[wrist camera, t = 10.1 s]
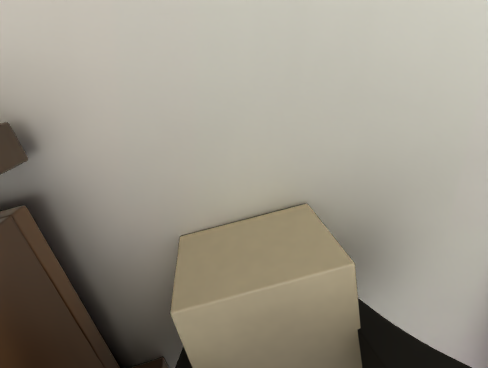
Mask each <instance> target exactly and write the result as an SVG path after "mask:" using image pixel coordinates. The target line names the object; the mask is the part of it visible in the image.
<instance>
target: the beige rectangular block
mask: <svg viewBox="0 0 488 368" xmlns="http://www.w3.org/2000/svg"><path fill="white" fill-rule="evenodd" d="M170 315H171V317H172V320H173V322H174V324H175V327H176V329H177V332H178V334H179V337H180V339H181V341H182V344H183V346H184V349H185V351H186V354H187V356H188V358H189V361H190V363H191V366H192V368H362V361H361V353H360V345H359V338H358V330H357V329H360V328H361V327H360V316H359V305H358V294H357V283H356V272H355V263H354V262H353V261H352V259H351V258H350V257H349V256H348V254H347V253H346V252H345V251H344V249H343V248H342V247H341V245H340V244H339V243H338V242H337V240H336V239H335V238H334V237H333V235H332V234H331V233H330V232H329V230H328V229H327V228H326V227H325V225H324V224H323V223H322V221H321V220H320V219H319V218H318V216H317V215H316V214H315V213H314V211H313V210H312V209H311V208H310V206H309V205H308V204H303V205H299V206H296V207H292V208H288V209H284V210H280V211H276V212H273V213H269V214H265V215H261V216H257V217H253V218H249V219H246V220H242V221H238V222H234V223H230V224H226V225H222V226H219V227H215V228H211V229H207V230H203V231H199V232H195V233H192V234H188V235H184V236H181V237H180V240H179V248H178V255H177V263H176V271H175V279H174V287H173V294H172V302H171V310H170Z"/></svg>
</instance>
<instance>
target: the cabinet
mask: <svg viewBox="0 0 488 368" xmlns="http://www.w3.org/2000/svg"><path fill="white" fill-rule="evenodd" d="M131 368H168V366H167V364H166V362H165V359H164V358H163V357H162V358H159V359H156V360H153V361H150V362H147V363H144V364H140V365H137V366H134V367H131Z"/></svg>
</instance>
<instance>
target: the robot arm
mask: <svg viewBox="0 0 488 368" xmlns="http://www.w3.org/2000/svg"><path fill="white" fill-rule="evenodd" d="M358 305H359V316H360V327H361V328H360V329H357V330H358V338H359V345H360V353H361V361H362V368H472V367H469V366H467V365H465V364H463V363H461V362H459V361H457V360H455V359H453V358H451V357H449V356H447V355H445V354H443V353H441V352H439V351H437V350H435V349H434V348H432V347H430V346H428V345H427V344H425V343H423V342H421V341H419V340H418V339H416V338H414V337H413V336H411V335H409V334H408V333H406V332H405V331H403V330H402V329H400V328H398V327H397V326H395V325H394V324H392V323H391V322H390V321H388V320H387V319H385V318H384V317H382V316H381V315H380V314H378V313H377V312H375V311H374V310H373V309H372V308H370V307H369V306H368V305H366V304H365V303H364V302H362V301H361V300H360V299H359V298H358ZM175 368H192V366H191V363H190V361H189V358H188V356H187V354H186V351H185V349H184V346H183V348H182V351H181V354H180V356H179V359H178V361H177V364H176V367H175Z"/></svg>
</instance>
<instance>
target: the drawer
mask: <svg viewBox="0 0 488 368" xmlns="http://www.w3.org/2000/svg"><path fill="white" fill-rule="evenodd" d="M27 160H28V157H27V156H26V154H25V152H24V150H23V148H22V146H21V144H20V143H19V141H18V139H17V137H16V135H15V133H14V132H13V130H12V128H11V126H10V124H9V123H7V122H4V123H0V175H1V174H3V173H5V172H7V171H9V170H11V169H12V168H14V167H16V166H18V165H20V164H22V163H24V162H26V161H27ZM0 368H120V367H119V365H118V364H117V362H116V360H115V358H114V357H113V355H112V353H111V352H110V350H109V348H108V346H107V345H106V343H105V341H104V339H103V338H102V336H101V334H100V333H99V331H98V329H97V327H96V326H95V324H94V322H93V321H92V319H91V317H90V315H89V314H88V312H87V310H86V309H85V307H84V305H83V303H82V302H81V300H80V298H79V296H78V295H77V293H76V291H75V290H74V288H73V286H72V284H71V283H70V281H69V279H68V278H67V276H66V274H65V272H64V271H63V269H62V267H61V266H60V264H59V262H58V260H57V259H56V257H55V255H54V253H53V252H52V250H51V248H50V247H49V245H48V243H47V241H46V240H45V238H44V236H43V235H42V233H41V231H40V229H39V228H38V226H37V224H36V222H35V221H34V219H33V217H32V216H31V214H30V212H29V210H28V209H27V207H26V206H25V205H23V206H18V207H15V208H11V209H8V210H4V211H1V212H0Z"/></svg>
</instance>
